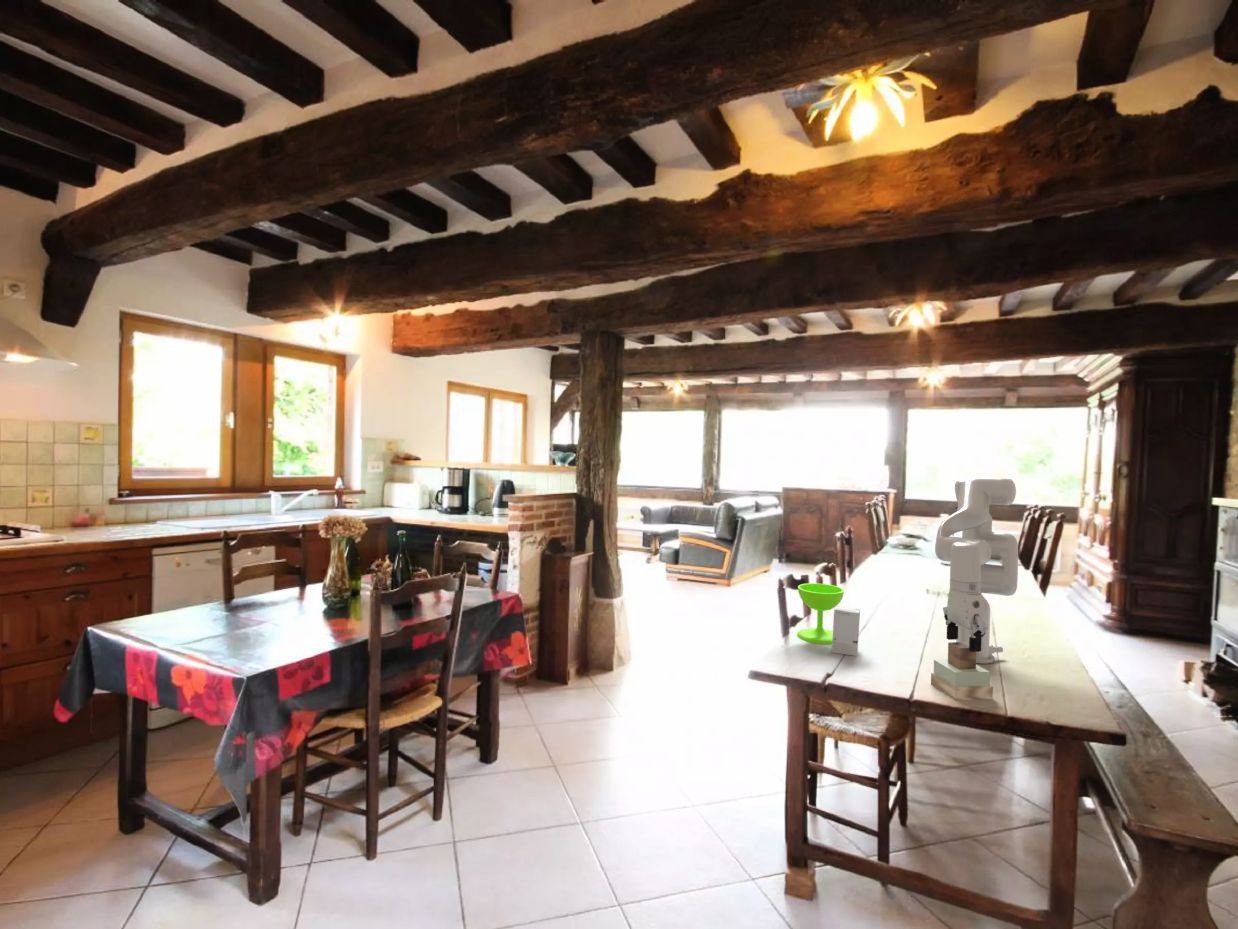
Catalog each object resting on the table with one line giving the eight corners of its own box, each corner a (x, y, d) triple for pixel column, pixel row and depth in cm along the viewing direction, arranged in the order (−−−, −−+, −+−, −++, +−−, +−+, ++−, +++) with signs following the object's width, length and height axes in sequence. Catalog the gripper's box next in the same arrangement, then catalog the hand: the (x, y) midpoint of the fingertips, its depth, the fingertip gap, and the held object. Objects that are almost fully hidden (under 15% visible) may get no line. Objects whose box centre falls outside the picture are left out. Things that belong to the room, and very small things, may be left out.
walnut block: (963, 662, 173) (964, 642, 173) (975, 668, 168) (976, 647, 168) (947, 663, 173) (948, 642, 173) (959, 669, 168) (959, 648, 168)
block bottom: (966, 685, 177) (966, 672, 177) (992, 701, 166) (992, 686, 166) (930, 686, 176) (931, 673, 176) (955, 702, 165) (955, 688, 165)
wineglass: (832, 630, 227) (833, 583, 226) (850, 644, 211) (851, 593, 210) (791, 630, 226) (791, 583, 226) (805, 644, 210) (806, 593, 210)
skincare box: (831, 653, 202) (832, 609, 201) (833, 647, 207) (834, 605, 207) (858, 656, 198) (859, 612, 198) (859, 651, 204) (860, 608, 203)
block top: (966, 672, 176) (966, 659, 176) (989, 686, 166) (989, 671, 166) (933, 673, 176) (933, 659, 176) (954, 686, 166) (955, 672, 166)
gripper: (999, 593, 162) (997, 655, 162) (957, 578, 179) (955, 634, 180) (973, 594, 161) (971, 657, 162) (933, 579, 178) (932, 635, 179)
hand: (963, 645), depth 171 cm, fingers open, 9 cm apart
